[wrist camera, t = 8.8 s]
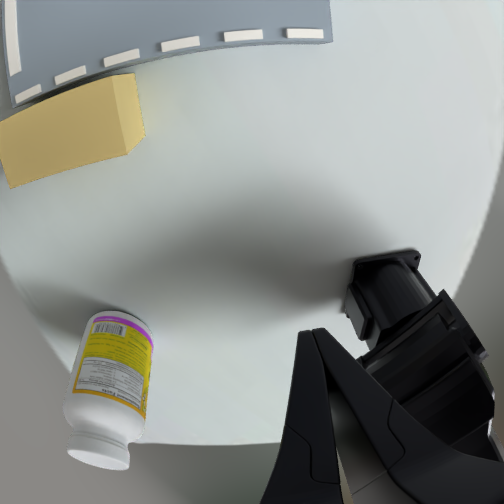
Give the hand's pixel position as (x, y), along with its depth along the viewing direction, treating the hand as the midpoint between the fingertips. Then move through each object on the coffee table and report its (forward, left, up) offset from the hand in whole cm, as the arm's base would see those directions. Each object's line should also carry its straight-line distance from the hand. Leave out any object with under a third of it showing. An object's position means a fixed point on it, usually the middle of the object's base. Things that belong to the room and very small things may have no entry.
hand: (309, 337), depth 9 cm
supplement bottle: (+14, +12, -12) cm, 22 cm away
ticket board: (+5, -14, -12) cm, 19 cm away
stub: (+11, -6, -12) cm, 17 cm away
